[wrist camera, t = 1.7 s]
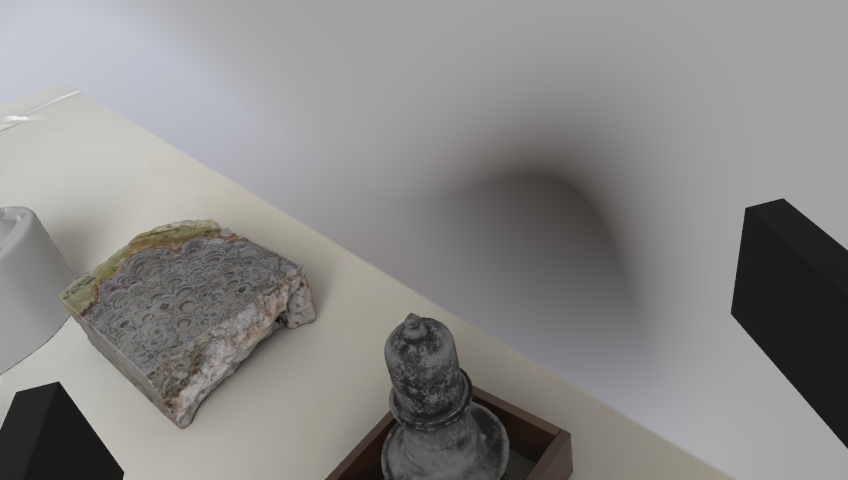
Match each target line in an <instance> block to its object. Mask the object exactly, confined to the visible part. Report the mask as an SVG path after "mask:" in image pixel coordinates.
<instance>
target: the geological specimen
mask: <svg viewBox="0 0 848 480" xmlns="http://www.w3.org/2000/svg"><path fill="white" fill-rule="evenodd" d="M58 296H59V298H60V300H61V302H62V303H63V305H64V306H65V308H66V309H67V310H68V311H69V312H70V314H71V315H72V316H73V318H74V319H75V320H76V321H77V323H79V324H80V325H81V327H82V329H83V330H84V331H85V333H86V334H87V336H88V337H87V338H88V339H89V340H90V342H91V343H92V345H93V346H94V347H95V348H96V349H97V350H99V351H100V352H101V353H102V354H103V355H104V356H105V357H106V358H107V359H108V360H109V361H110V362H111V363H112V364H113V365H114V366H115V367H116V368H117V369H118V370H119V371H120V372H121V373H122V374H123V375H124V376H125V377H126V378H127V379H128V380H129V381H130V382H131V383H132V384H133V385H134V386H135V387H136V388H137V389H138V390H139V391H141V392H142V393H143V394H144V395H145V396H146V397H147V398H148V399H149V400H150V401H151V402H152V403H153V404H154V405H155V406H156V407H157V408H158V409H159V410H160V411H161V412H162V413H163V414H164V415H165V416H167V417H168V418H169V419H170V420H171V421H172V422H173V423H175V424H176V425H177V426H178V427H179V428H181V429H183V428H186V427H187V426H188V425H189V424H190V423H192V418H193V414H194V413H195V411H196V409H197V407H198V406H199V405H200V402H201V401H202V400H203V399H204V398H205V397H206V396H207V395H208V394H209V393H210V391H212V390H214V389H215V388H216V386H217V385H218V384H219V383H221V382H222V381H223V379H225V378H226V377H228V376H231V375H232V374H233V373H234V372H235V371H236V369H237V367H238V366H239V364H240V362H241V361H242V360H244V359H245V358H248V357H249V354H250V353H251V351H252V350H253V349H254V348H255V347H256V346H257V344H258V342H259V341H262V340H264V339H266V338H268V337H270V336H271V335H272V333H273V332H274V331H275V330H276V329H278V328H280V327H288V328H291V329H294V328H297V327H299V326H300V325H302V324H305V323H312V322H314V321H315V320H316V318H315V309H314V305H313V301H312V298H313V297H312V291H311V289H310V287H309V285H308V283H307V280H306V276H305V271H304V268H303V267H302V266H301V265H299V264H297V263H295V262H293V261H291V260H289V259H287V258H285V257H283V256H281V255H279V254H277V253H275V252H273V251H271V250H269V249H267V248H265V247H263V246H261V245H258V244H256V243H254V242H252V241H251V240H249V239H247V238H245V237H243V236H241V235H240V236H238V237H237V236H236V235H235V233H234V232H232V231H231V230H229V229H227V228H226V229H222V228H221V227H220V226H219V225H218V223H217V222H216V221H214V220H212V219H211V220H196V221H191V220H185V221H181V222H175V223H172V224H168V225H164V226H159V227H156V228H154V229H152V230H151V231H149V232H145V233H141V234H140V235H138V236H136V237H135V238H133V239H132V240H131V241H130V242H129V244H128V245H126V246H125V247H123V248H122V249H120V250H118V251H117V252H116V253H115V254H113V255H112V256H110V257H109V259H108V260H107V261H106V262H104V263H102V264H101V265H99V266H98V267H97V268H96V269H95V270H92V271H90V272H87V273H86V274H84V275H83V276H82V277H81V278H79V279H77V280H75V281H74V282H73V283H72V284H71V285H70V286H69V287H68V288H66V289H65V290H64V291H62V292H61V293H60V294H59V295H58Z"/></svg>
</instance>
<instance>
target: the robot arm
mask: <svg viewBox="0 0 848 480" xmlns="http://www.w3.org/2000/svg"><path fill="white" fill-rule="evenodd" d="M731 314H732V315H733V317H734V318H735V319H736V320H737V321H738V322H739V324H740V325H741V326H742V327H743V328H744V329H745V331H746V332H747V333H748V334H749V335H750V336H751V338H752V339H753V340H754V341H755V342H756V343H757V344H758V346H759V347H760V348H761V349H762V350H763V351H764V353H765V354H766V355H767V356H768V357H769V358H770V359H771V360H772V362H773V363H774V364H775V365H776V366H777V367H778V369H779V370H780V371H781V372H782V373H783V374H784V376H785V377H786V378H787V379H788V380H789V381H790V383H791V384H792V385H793V386H794V387H795V388H796V389H797V391H798V392H799V393H800V394H801V395H802V396H803V398H804V399H805V400H806V401H807V402H808V403H809V405H810V406H811V407H812V408H813V409H814V410H815V411H816V413H817V414H818V415H819V416H820V417H821V418H822V419H823V421H824V422H825V423H826V424H827V425H828V426H829V427H830V429H831V430H832V431H833V432H834V433H835V434H836V436H837V437H838V438H839V439H840V440H841V441H842V443H843V444H844V445H845V446H846V447H847V448H848V250H846V249H845V248H844V247H843V246H841V245H840V244H839V243H838V242H836V241H835V240H834V239H833V238H832V237H830V236H829V235H828V234H826V233H825V232H824V231H823V230H822V229H820V228H819V227H818V226H817V225H815V224H814V223H813V222H812V221H810V220H809V219H808V218H807V217H806V216H804V215H803V214H802V213H801V212H799V211H798V210H797V209H796V208H795V207H793V206H792V205H791V204H790V203H788V202H787V201H786V200H785V199H779V200H775V201H771V202H767V203H763V204H759V205H755V206H751V207H747V208H746V209H745V216H744V223H743V230H742V238H741V245H740V252H739V258H738V265H737V273H736V280H735V287H734V294H733V302H732V308H731ZM123 476H124V471H123V470H122V469H121V467H120V466H119V464H118V463H117V462H116V460H115V459H114V457H113V456H112V455H111V453H110V452H109V450H108V449H107V448H106V446H105V445H104V443H103V442H102V441H101V439H100V438H99V437H98V435H97V434H96V432H95V431H94V430H93V428H92V427H91V425H90V424H89V423H88V421H87V420H86V418H85V417H84V416H83V414H82V413H81V411H80V410H79V409H78V407H77V406H76V405H75V403H74V402H73V400H72V399H71V398H70V396H69V395H68V393H67V392H66V391H65V389H64V388H63V386H62V385H61V384H60V382H55V383H51V384H47V385H43V386H39V387H35V388H31V389H27V390H23V391H19V392H16V394H15V397H14V399H13V401H12V404H11V406H10V408H9V411H8V413H7V415H6V418H5V420H4V423H3V425H2V427H1V430H0V480H123Z"/></svg>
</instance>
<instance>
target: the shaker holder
mask: <svg viewBox="0 0 848 480" xmlns="http://www.w3.org/2000/svg"><path fill="white" fill-rule="evenodd" d="M472 386H473V385H472ZM472 402H474V403H476V404H479V405H481V406H483V407H485V408H487V409H488V410H489V411H491V412H492V413H493V414H494V415H495V416H497V418H498V419H499V420H500V422H501V423H502V425H503V426H504V428H505V430H506V433H507V436H508V439H509V447H510V448H511V449H513V450H515V451H517V452H519V453H521V454H523V455H525V456H526V457H528V458H530V459H532V460H534V461H536V462H537V464H536V465H535V467H534V468H533V469H532V471H531V472H530V474H529V475H528V476H527V478H526V479H525V480H568V478H569V477H570V475H571V474H572V473H573V464H572V449H571V434H570V433H569V432H567V431H565V430H563V429H560V428H559V427H557V426H555V425H553V424H550V423H548V422H546V421H544V420H542V419H540V418H538V417H536V416H534V415H532V414H530V413H528V412H526V411H524V410H522V409H520V408H518V407H516V406H514V405H512V404H510V403H507V402H505V401H503V400H501V399H499V398H497V397H495V396H493V395H491V394H489V393H487V392H485V391H483V390H481V389H479V388H477V387H475V386H473V399H472ZM397 422H398V421H397V420H396V419H395V418H394V416H393V414H392V412H391V410H390V411H389V412H388V413H387V414H386V415H385V417H384V418H383V419H382V420H381V421H380V422H379V423H378V424H377V425H376V426H375V427H374V428H373V429H372V430H371V431H370V432H369V434H368V435H367V436H366V437H365V438H364V439H363V440H362V441H361V442H360V443H359V444H358V445H357V446H356V447H355V448H354V449H353V450H352V452H351V453H350V454H349V455H348V456H347V457H346V458H345V459H344V460H343V461H342V462H341V463H340V464H339V465H338V466H337V467H336V469H335V470H334V471H333V472H332V473H331V474H330V475H329V476H328V477H327V478H326V479H325V480H383V479H384V478H385V476H384V474H383V470H382V462H381V455H382V450H383V444H384V442H385V440H386V438H387V436H388V434H389V432H390V430H391V429H392V428H393V426H394V425H395V424H396V423H397Z"/></svg>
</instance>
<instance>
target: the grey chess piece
mask: <svg viewBox="0 0 848 480" xmlns="http://www.w3.org/2000/svg"><path fill="white" fill-rule="evenodd" d="M385 360H386V364H387V367H388V371H389V374H390V377H391V381H392V384H393V387H392V389H391V392H390V397H389V404H390V410H391V412H392V414H393V416H394V418H395V419H396V420H397V421H398V422H397V423H396V424H395V425H394V426H393V428H392V429H391V430H390V432H389V434H388V436H387V438H386V440H385V442H384V444H383V450H382V455H381V462H382V470H383V474H384V476H385V479H386V480H508V479H507V475H506V473H505V470H506V467H507V464H508V461H509V439H508V436H507V433H506V430H505V428H504V426H503V425H502V423H501V422H500V420H499V419H498V418H497V416H495V415H494V414H493V413H492V412H491V411H489V410H488V409H487V408H485V407H483V406H481V405H479V404H476V403H474V402H472V399H473V386H472V383H471V379H470V378H469V376H468V375H467V373H466V372H465V371H463V370H462V369H461V368H459V363H458V358H457V353H456V348H455V343H454V339H453V336H452V334H451V332H450V331H449V329H448V328H447V327H446V326H445V325H444V324H442V323H441V322H439V321H437V320H434V319H431V318H425V317H423V318H420V317H419V316H417V315H415V314H413V313H410V314H409V315H408V316H407V318H406V319H405V321H404V322H403V323H402V324H400V325H399V326H397V327H396V328H395V329H394V330H393V332H392V333H391V334H390V336H389V337H388V339H387V341H386V344H385Z"/></svg>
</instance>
